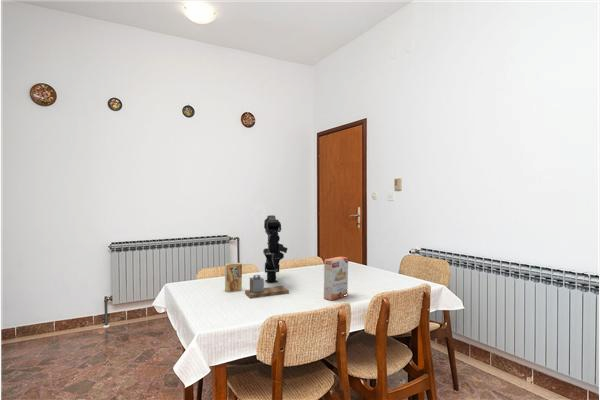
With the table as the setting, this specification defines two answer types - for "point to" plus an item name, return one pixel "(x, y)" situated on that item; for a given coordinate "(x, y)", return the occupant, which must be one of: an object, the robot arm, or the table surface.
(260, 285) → the metal cube with knob
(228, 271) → the candy box
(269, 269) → the robot arm
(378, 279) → the table surface
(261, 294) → the brown flat block
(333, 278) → the cracker box
